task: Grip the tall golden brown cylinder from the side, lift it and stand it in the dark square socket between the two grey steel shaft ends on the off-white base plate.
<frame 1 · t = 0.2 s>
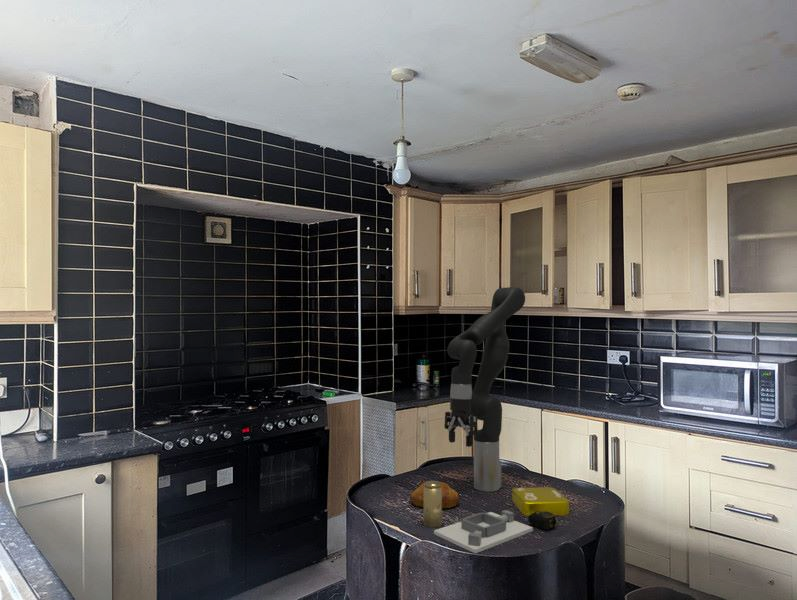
hand: (460, 444, 185), 18 cm above the table, fingers open, 8 cm apart
element tile: (539, 508, 174), on the table
golden brown cylinder: (432, 523, 160), on the table
tape measure: (543, 528, 157), on the table
cradle: (483, 532, 153), on the table
croissant: (435, 504, 178), on the table
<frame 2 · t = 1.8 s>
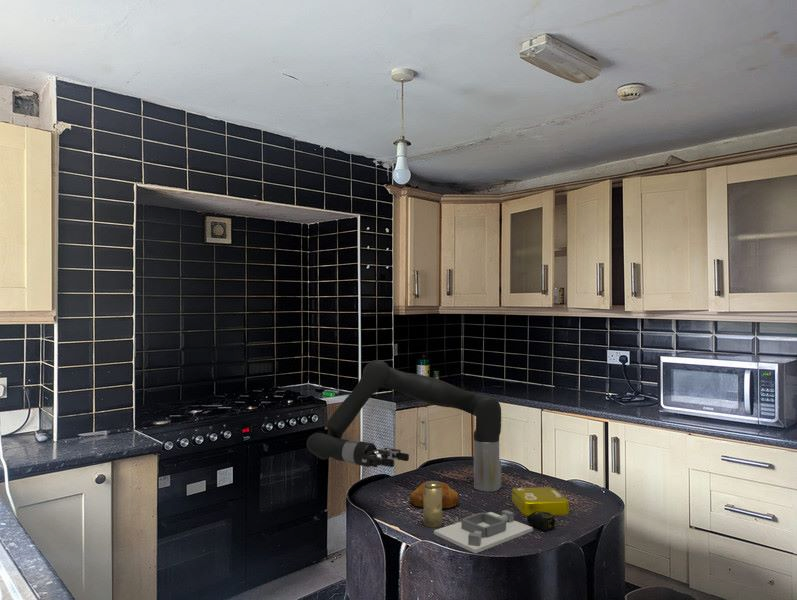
hand: (401, 460, 166), 17 cm above the table, fingers open, 8 cm apart
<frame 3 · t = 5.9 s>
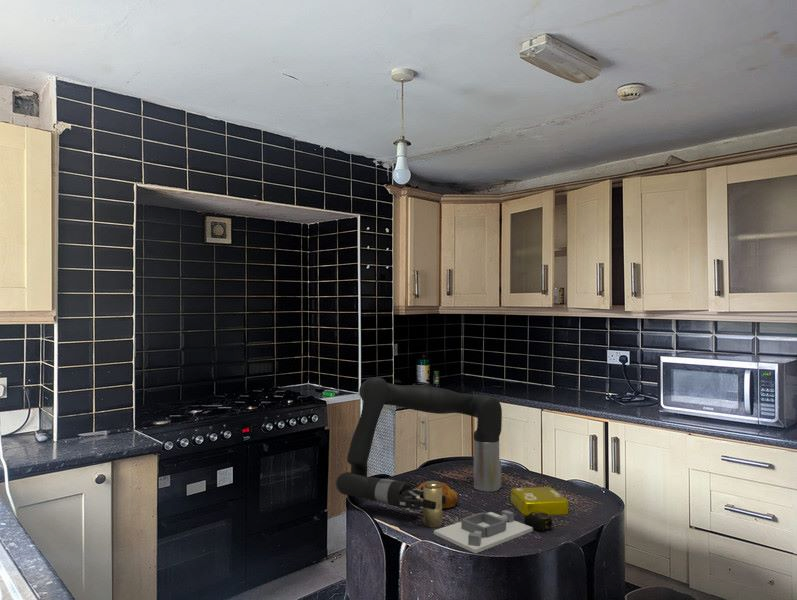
hand: (440, 502, 159), 7 cm above the table, fingers closed on golden brown cylinder, 5 cm apart
golden brown cylinder: (432, 523, 160), on the table, touching gripper
tape measure: (539, 529, 156), on the table
everything else where it was.
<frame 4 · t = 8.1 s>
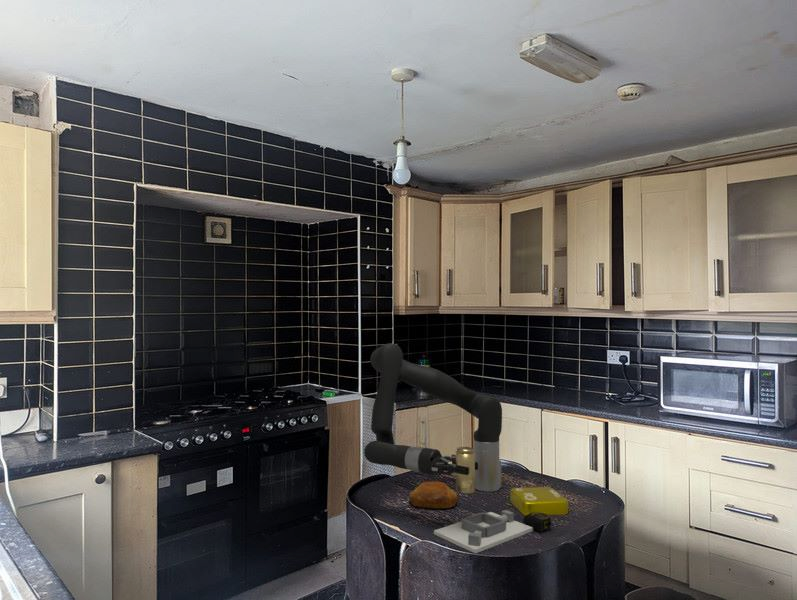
hand: (473, 468, 155), 18 cm above the table, fingers closed on golden brown cylinder, 5 cm apart
golden brown cylinder: (465, 490, 156), point 11 cm above the table, touching gripper
when the fingers open (9 cm above the table, at t = 10.3 s): golden brown cylinder stays where it is, resting on cradle.
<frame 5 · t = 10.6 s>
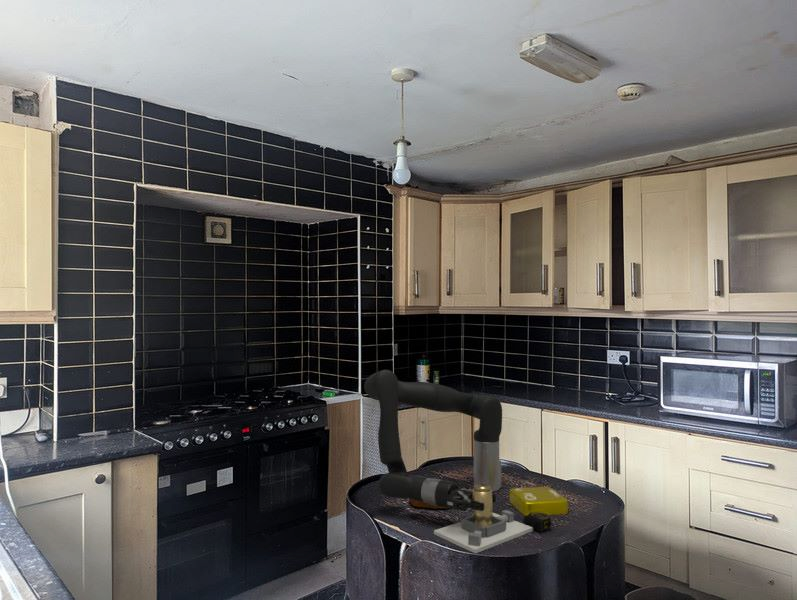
hand: (489, 502, 152), 9 cm above the table, fingers open, 8 cm apart
golden brown cylinder: (483, 528, 153), point 1 cm above the table, touching cradle
everything else where it was.
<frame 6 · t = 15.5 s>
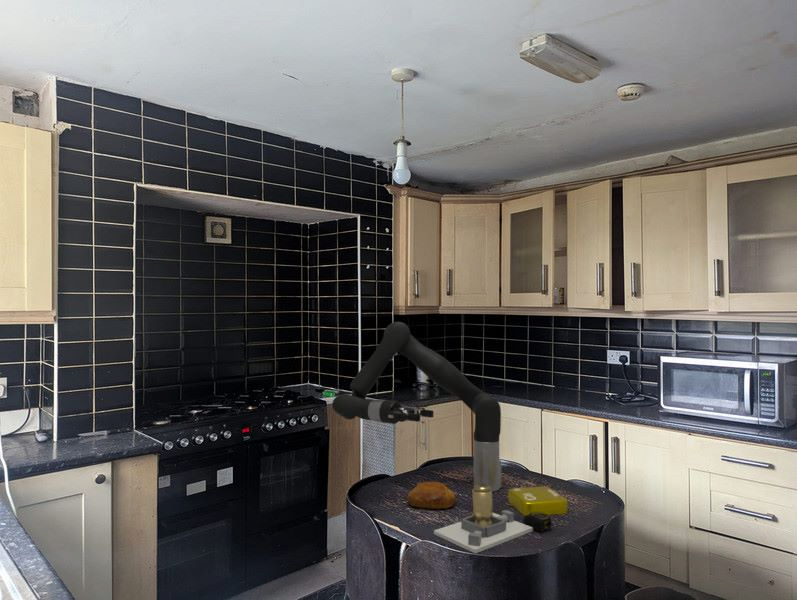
hand: (426, 416, 171), 30 cm above the table, fingers open, 8 cm apart
at the end: golden brown cylinder 0.1 cm off-centre on the cradle, point 1.1 cm above the cradle's base; golden brown cylinder tilted 2°; the gripper is holding nothing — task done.
